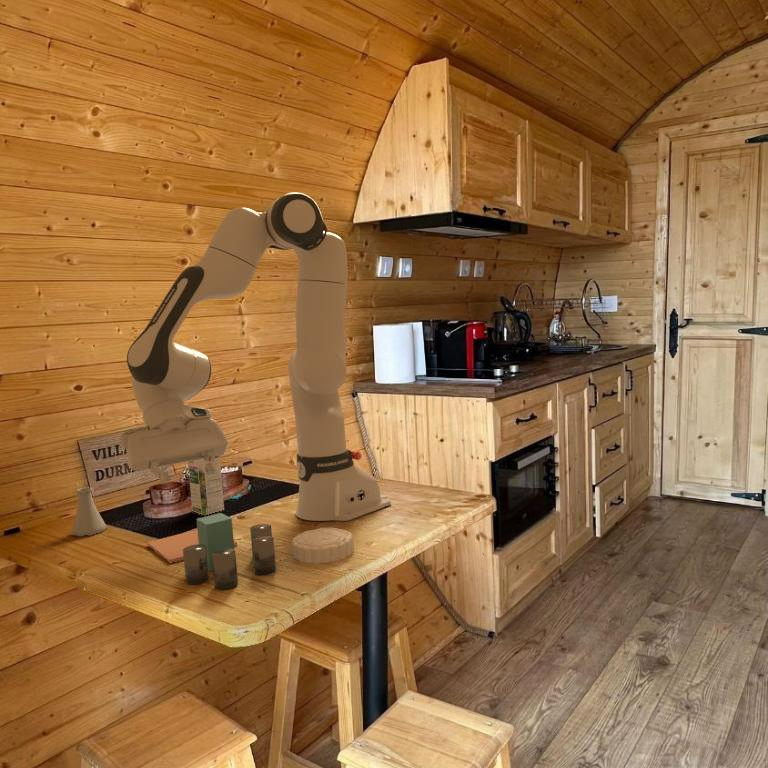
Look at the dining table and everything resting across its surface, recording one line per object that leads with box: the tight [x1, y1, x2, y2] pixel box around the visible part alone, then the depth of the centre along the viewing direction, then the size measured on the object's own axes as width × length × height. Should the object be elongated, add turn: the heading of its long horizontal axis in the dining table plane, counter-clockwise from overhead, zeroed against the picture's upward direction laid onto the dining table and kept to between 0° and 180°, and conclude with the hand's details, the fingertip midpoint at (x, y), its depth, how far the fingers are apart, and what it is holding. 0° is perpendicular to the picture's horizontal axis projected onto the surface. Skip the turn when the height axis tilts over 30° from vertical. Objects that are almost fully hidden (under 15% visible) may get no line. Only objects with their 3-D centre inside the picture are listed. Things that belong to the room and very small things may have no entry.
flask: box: [70, 486, 108, 537], centre depth 159 cm, size 7×7×10 cm
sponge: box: [230, 484, 252, 500], centre depth 184 cm, size 2×12×6 cm
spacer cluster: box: [183, 523, 277, 591], centre depth 129 cm, size 18×12×6 cm, turn 126°
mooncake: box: [291, 526, 355, 565], centre depth 137 cm, size 12×12×4 cm
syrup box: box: [187, 456, 225, 517], centre depth 168 cm, size 6×6×14 cm
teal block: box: [196, 512, 235, 572], centre depth 134 cm, size 5×5×9 cm
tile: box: [146, 529, 238, 564], centre depth 145 cm, size 14×14×1 cm
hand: (189, 477), depth 141 cm, fingers open, 8 cm apart
